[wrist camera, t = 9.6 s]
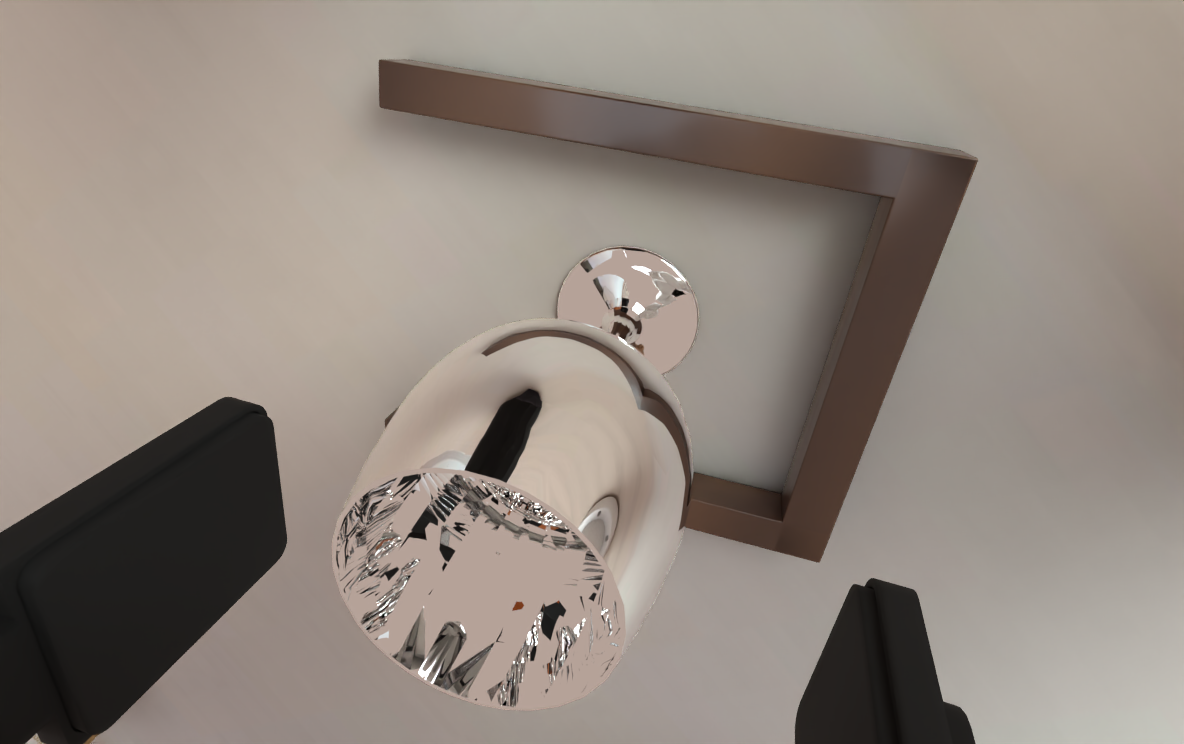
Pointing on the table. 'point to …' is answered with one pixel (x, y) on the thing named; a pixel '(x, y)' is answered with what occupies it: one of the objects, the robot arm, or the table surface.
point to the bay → (774, 149)
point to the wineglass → (530, 494)
